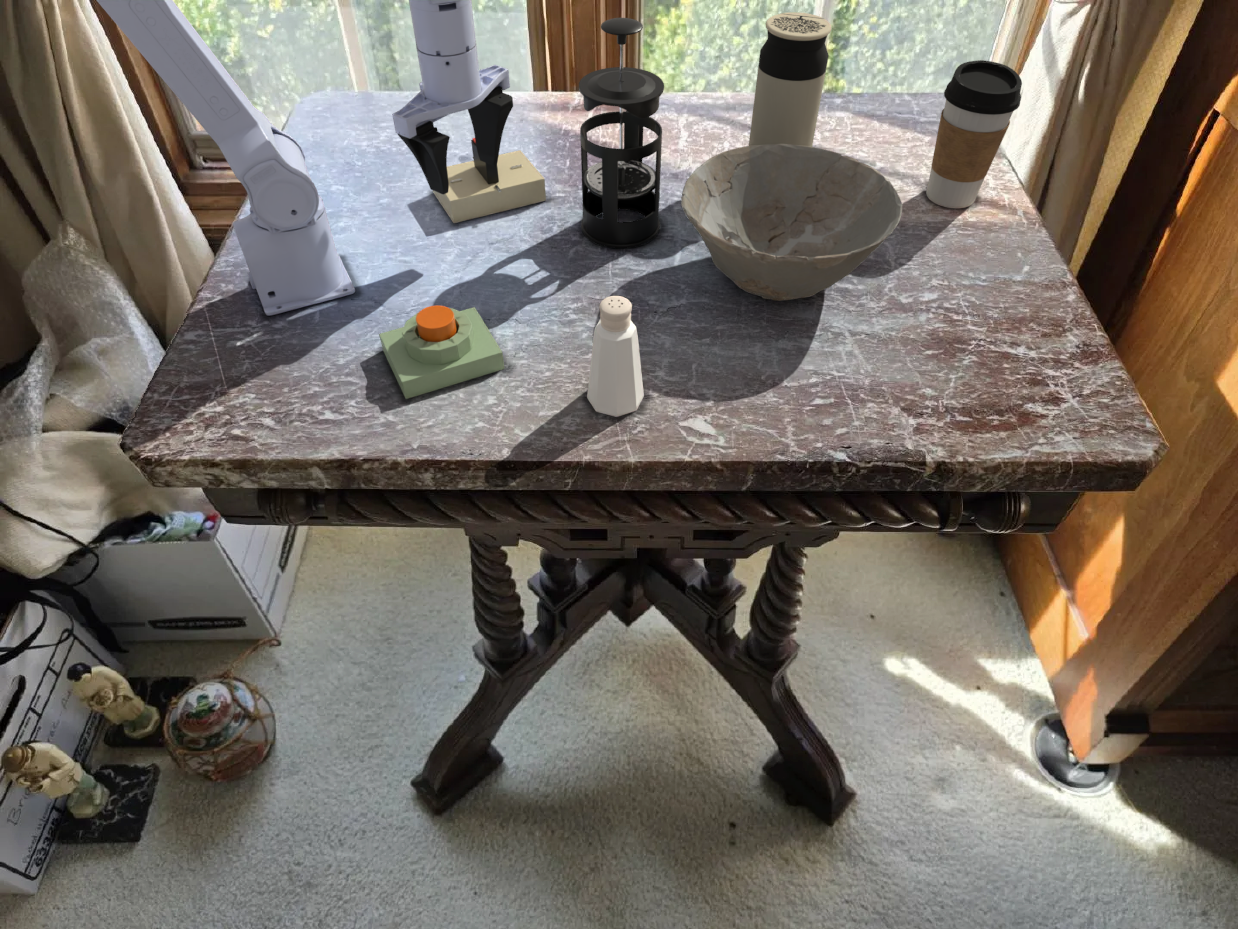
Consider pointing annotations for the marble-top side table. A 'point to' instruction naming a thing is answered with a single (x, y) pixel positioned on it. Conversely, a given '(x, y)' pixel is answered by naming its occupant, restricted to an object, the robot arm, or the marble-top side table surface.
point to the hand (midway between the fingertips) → (464, 175)
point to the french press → (621, 150)
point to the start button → (436, 323)
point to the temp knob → (484, 166)
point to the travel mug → (790, 80)
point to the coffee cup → (971, 130)
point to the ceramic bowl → (789, 216)
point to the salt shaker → (615, 360)
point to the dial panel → (491, 188)
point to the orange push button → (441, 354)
